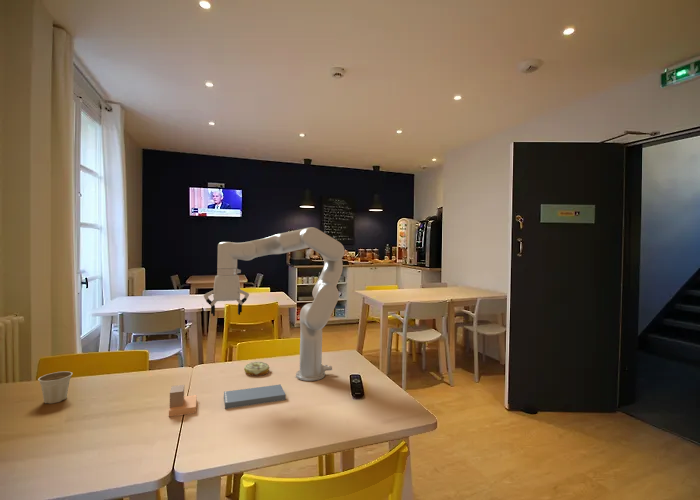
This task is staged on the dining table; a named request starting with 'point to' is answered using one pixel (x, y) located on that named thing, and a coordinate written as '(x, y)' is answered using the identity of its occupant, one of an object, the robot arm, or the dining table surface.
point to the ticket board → (253, 396)
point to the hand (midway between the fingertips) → (226, 314)
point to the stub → (181, 402)
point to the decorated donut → (256, 368)
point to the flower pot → (55, 386)
